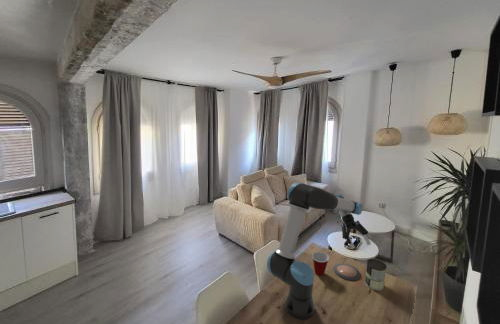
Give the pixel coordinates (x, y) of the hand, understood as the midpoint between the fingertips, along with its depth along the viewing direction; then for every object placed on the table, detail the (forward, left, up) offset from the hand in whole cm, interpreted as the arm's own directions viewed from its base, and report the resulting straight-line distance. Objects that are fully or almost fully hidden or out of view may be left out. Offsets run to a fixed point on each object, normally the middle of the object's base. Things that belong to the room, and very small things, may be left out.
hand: (361, 246), depth 152 cm
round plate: (-8, -2, -18) cm, 20 cm away
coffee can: (+6, -11, -18) cm, 22 cm away
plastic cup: (-26, -7, -18) cm, 32 cm away
